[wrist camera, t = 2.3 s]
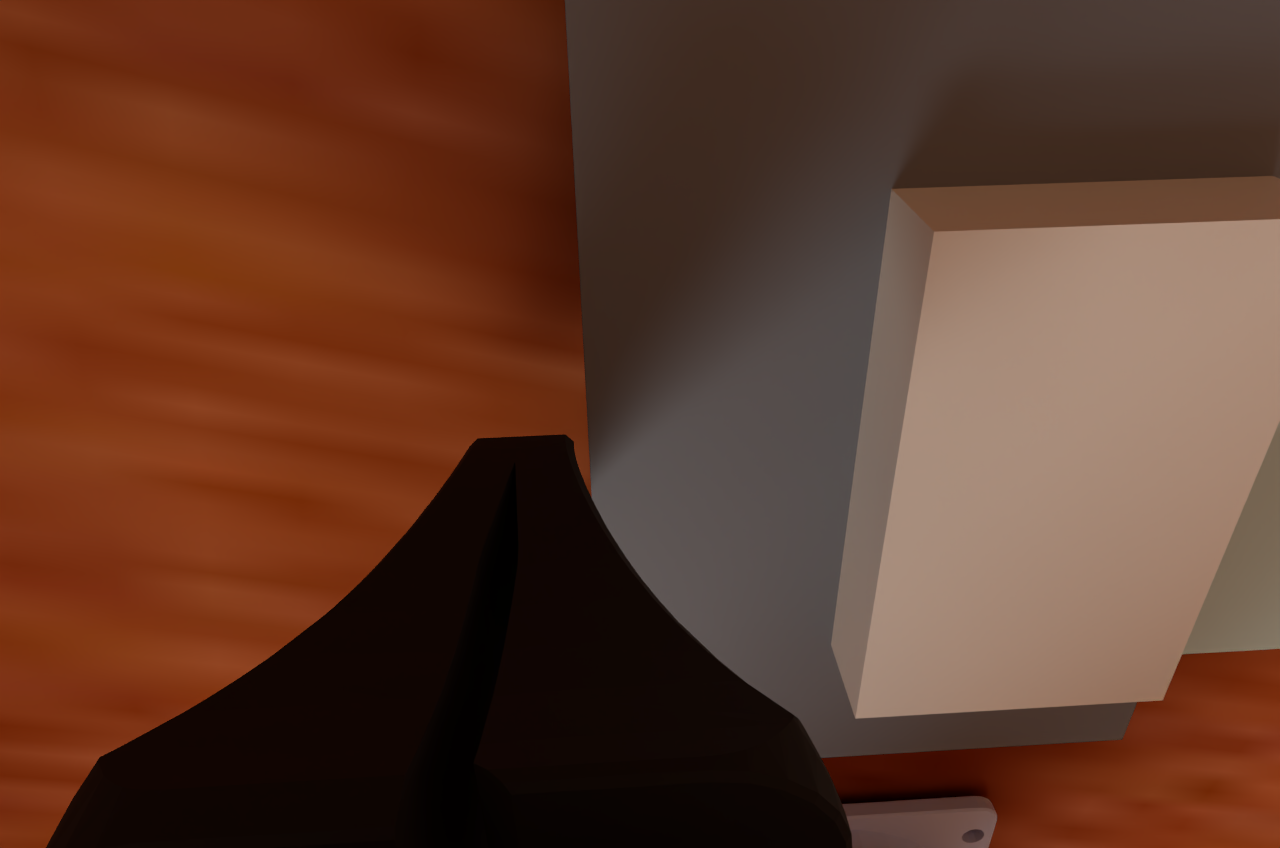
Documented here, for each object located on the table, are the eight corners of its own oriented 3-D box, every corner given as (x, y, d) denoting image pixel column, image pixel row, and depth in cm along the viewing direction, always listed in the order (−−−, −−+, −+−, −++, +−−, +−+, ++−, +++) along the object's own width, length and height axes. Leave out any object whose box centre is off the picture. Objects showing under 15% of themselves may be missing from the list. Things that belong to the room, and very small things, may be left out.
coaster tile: (1111, 629, 16) (1162, 700, 14) (830, 644, 16) (855, 718, 14) (1273, 175, 12) (1365, 216, 10) (891, 188, 11) (933, 231, 10)
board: (1073, 662, 19) (1122, 739, 17) (603, 689, 19) (606, 771, 17) (1327, -99, 12) (1454, -95, 10) (563, -83, 11) (560, -75, 10)
